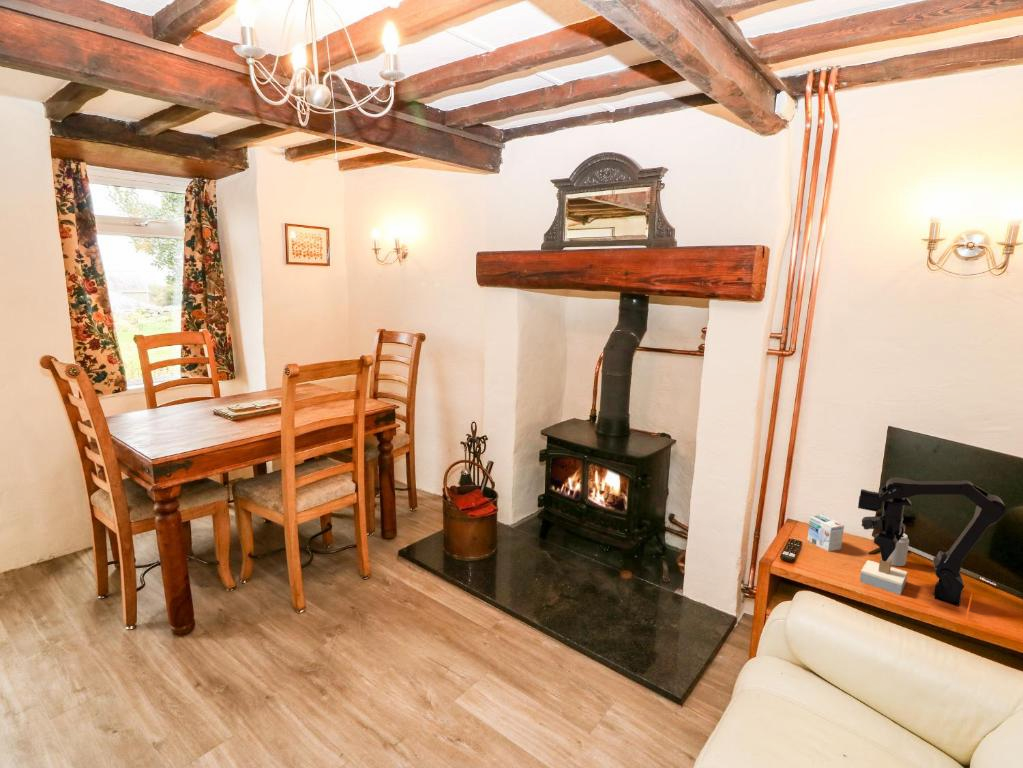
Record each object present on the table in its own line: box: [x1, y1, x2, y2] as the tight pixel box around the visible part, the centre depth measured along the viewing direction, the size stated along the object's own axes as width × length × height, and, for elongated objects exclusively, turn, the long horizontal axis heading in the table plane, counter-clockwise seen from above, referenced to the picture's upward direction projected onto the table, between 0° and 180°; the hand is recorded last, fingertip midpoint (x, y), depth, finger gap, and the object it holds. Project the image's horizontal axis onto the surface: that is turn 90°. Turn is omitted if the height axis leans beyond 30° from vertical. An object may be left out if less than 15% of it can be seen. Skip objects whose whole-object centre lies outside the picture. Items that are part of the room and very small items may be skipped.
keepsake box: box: [859, 572, 908, 596], centre depth 194 cm, size 12×10×4 cm
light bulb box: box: [807, 514, 845, 552], centre depth 221 cm, size 11×7×11 cm, turn 17°
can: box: [889, 532, 910, 567], centre depth 207 cm, size 8×8×12 cm
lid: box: [860, 556, 908, 586], centre depth 193 cm, size 12×10×5 cm
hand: (886, 555), depth 193 cm, fingers open, 9 cm apart
